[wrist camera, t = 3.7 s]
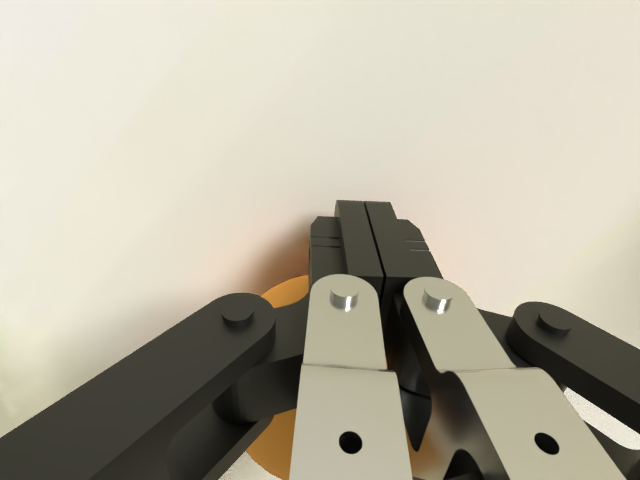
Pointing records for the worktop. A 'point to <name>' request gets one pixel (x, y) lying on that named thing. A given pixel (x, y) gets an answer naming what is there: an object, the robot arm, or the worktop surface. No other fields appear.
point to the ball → (278, 436)
